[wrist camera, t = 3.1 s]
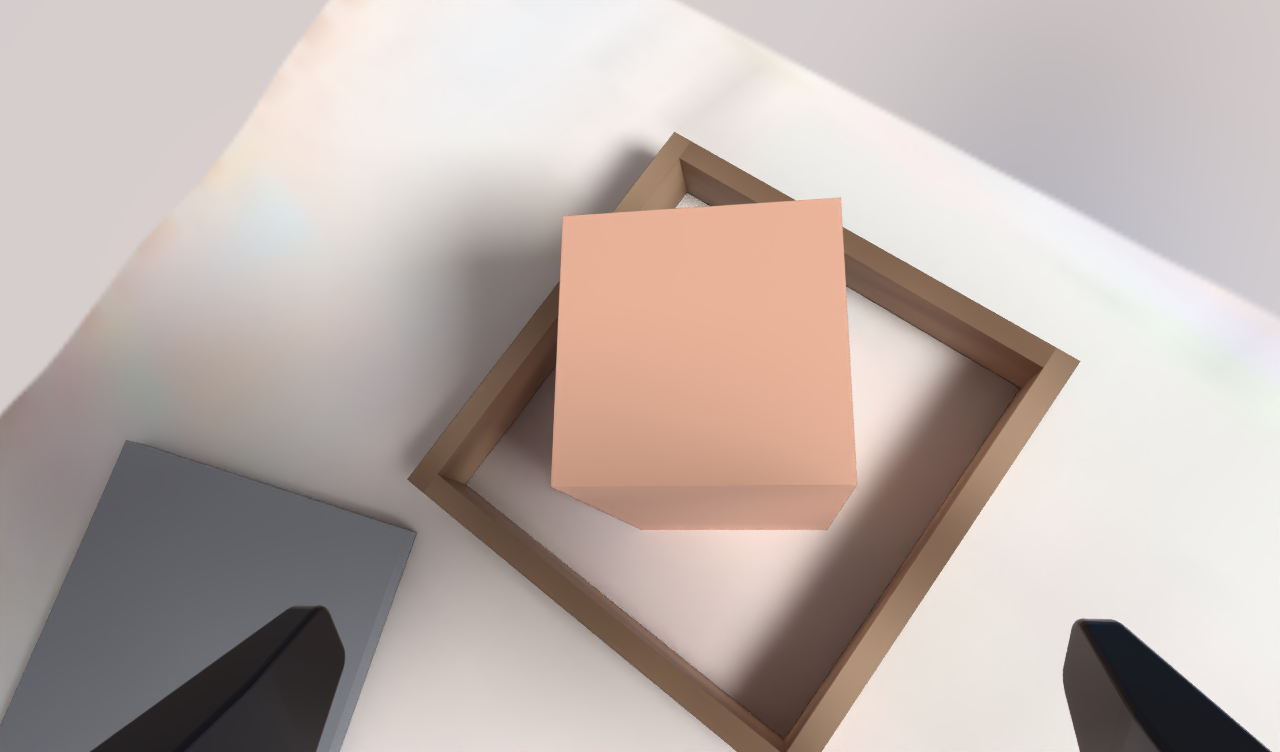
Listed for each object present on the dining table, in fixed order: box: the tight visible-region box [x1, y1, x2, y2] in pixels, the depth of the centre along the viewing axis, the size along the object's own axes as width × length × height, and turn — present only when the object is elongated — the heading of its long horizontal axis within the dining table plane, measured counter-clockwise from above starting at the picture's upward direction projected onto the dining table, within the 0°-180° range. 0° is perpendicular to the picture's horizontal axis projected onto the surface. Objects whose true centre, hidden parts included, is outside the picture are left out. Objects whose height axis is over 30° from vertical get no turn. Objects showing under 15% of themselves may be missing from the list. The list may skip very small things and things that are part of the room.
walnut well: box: [407, 132, 1080, 752], centre depth 21 cm, size 12×12×2 cm
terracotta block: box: [551, 198, 857, 530], centre depth 18 cm, size 5×5×9 cm
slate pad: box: [0, 440, 416, 752], centre depth 23 cm, size 10×10×1 cm
